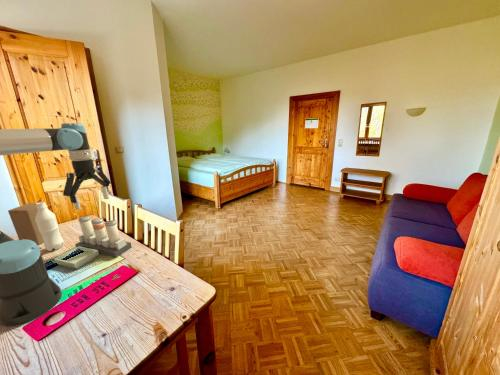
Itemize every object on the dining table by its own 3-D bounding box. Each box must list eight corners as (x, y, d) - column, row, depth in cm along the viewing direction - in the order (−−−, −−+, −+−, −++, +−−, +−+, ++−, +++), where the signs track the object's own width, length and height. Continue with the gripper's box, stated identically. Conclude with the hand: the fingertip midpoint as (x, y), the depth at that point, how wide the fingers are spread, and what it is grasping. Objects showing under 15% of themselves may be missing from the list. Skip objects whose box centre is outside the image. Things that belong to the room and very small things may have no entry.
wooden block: (38, 245, 108) (26, 210, 102) (20, 245, 108) (7, 210, 102) (56, 235, 117) (46, 203, 111) (39, 235, 117) (28, 203, 112)
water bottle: (68, 244, 108) (54, 200, 101) (54, 252, 101) (39, 205, 94) (56, 243, 109) (41, 200, 101) (41, 251, 102) (25, 205, 94)
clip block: (116, 257, 96) (113, 246, 94) (76, 249, 103) (73, 238, 101) (131, 247, 104) (129, 236, 103) (93, 240, 112) (91, 229, 110)
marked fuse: (102, 246, 100) (95, 222, 96) (95, 245, 102) (88, 221, 98) (110, 241, 104) (105, 218, 101) (103, 240, 106) (98, 217, 102)
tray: (76, 269, 88) (74, 264, 88) (55, 264, 92) (53, 258, 91) (99, 255, 98) (98, 250, 97) (79, 251, 102) (78, 246, 101)
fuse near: (115, 249, 98) (109, 224, 94) (108, 247, 99) (102, 223, 95) (123, 244, 102) (118, 220, 98) (116, 242, 103) (111, 219, 100)
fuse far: (89, 243, 103) (82, 220, 99) (82, 242, 104) (76, 219, 100) (98, 239, 107) (92, 216, 103) (91, 238, 108) (85, 215, 104)
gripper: (55, 164, 78) (70, 215, 84) (113, 155, 101) (121, 195, 107) (42, 164, 80) (57, 213, 87) (102, 155, 103) (111, 194, 109)
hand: (93, 203), depth 97 cm, fingers open, 13 cm apart
